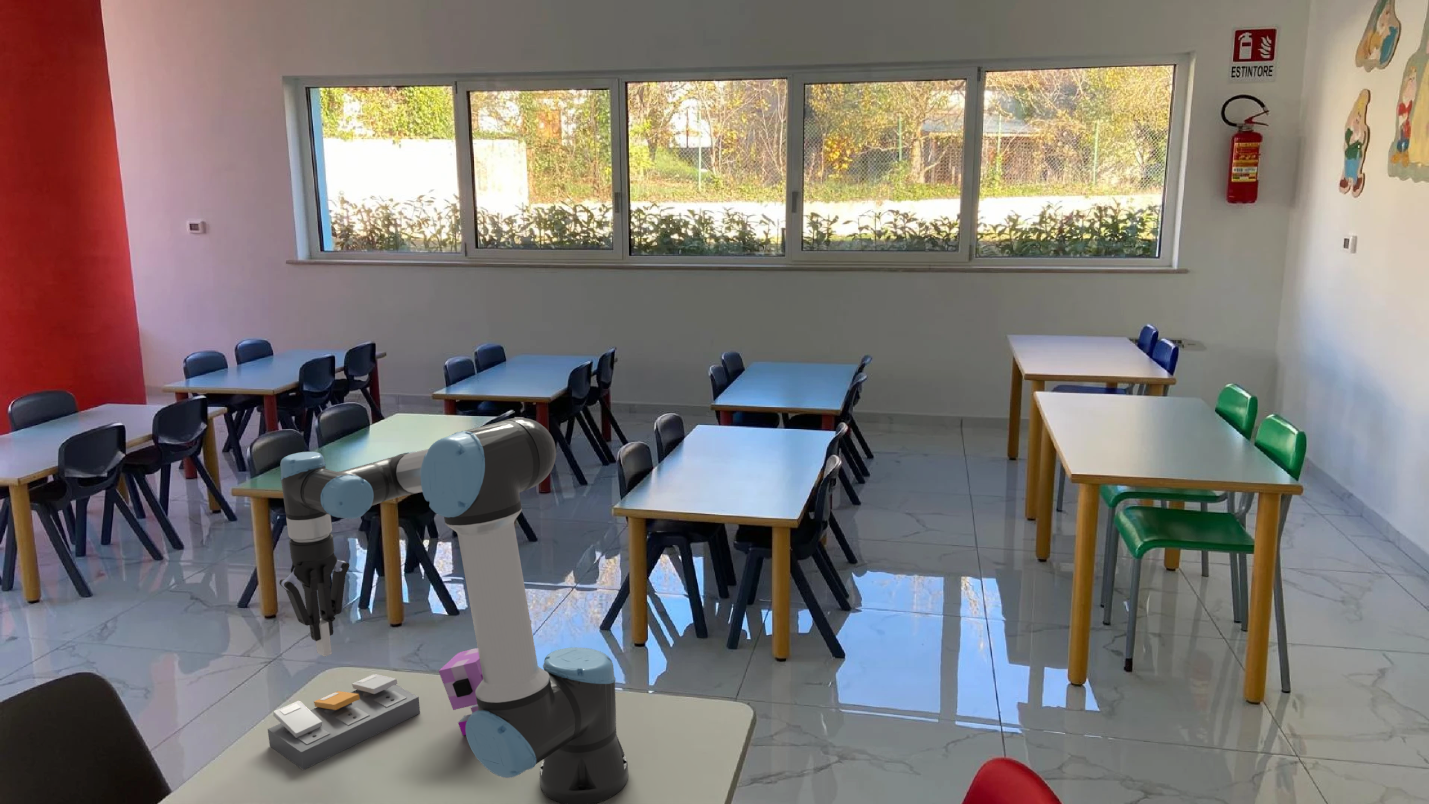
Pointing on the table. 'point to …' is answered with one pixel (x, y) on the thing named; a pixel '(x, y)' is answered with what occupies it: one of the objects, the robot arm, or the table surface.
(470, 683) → the toy
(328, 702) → the plate
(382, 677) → the rocker
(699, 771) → the table surface
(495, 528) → the robot arm
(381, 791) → the table surface
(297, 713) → the rocker
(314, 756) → the power strip
